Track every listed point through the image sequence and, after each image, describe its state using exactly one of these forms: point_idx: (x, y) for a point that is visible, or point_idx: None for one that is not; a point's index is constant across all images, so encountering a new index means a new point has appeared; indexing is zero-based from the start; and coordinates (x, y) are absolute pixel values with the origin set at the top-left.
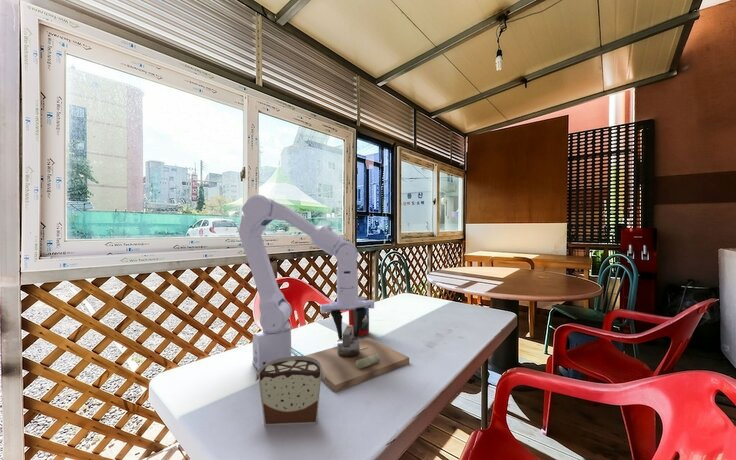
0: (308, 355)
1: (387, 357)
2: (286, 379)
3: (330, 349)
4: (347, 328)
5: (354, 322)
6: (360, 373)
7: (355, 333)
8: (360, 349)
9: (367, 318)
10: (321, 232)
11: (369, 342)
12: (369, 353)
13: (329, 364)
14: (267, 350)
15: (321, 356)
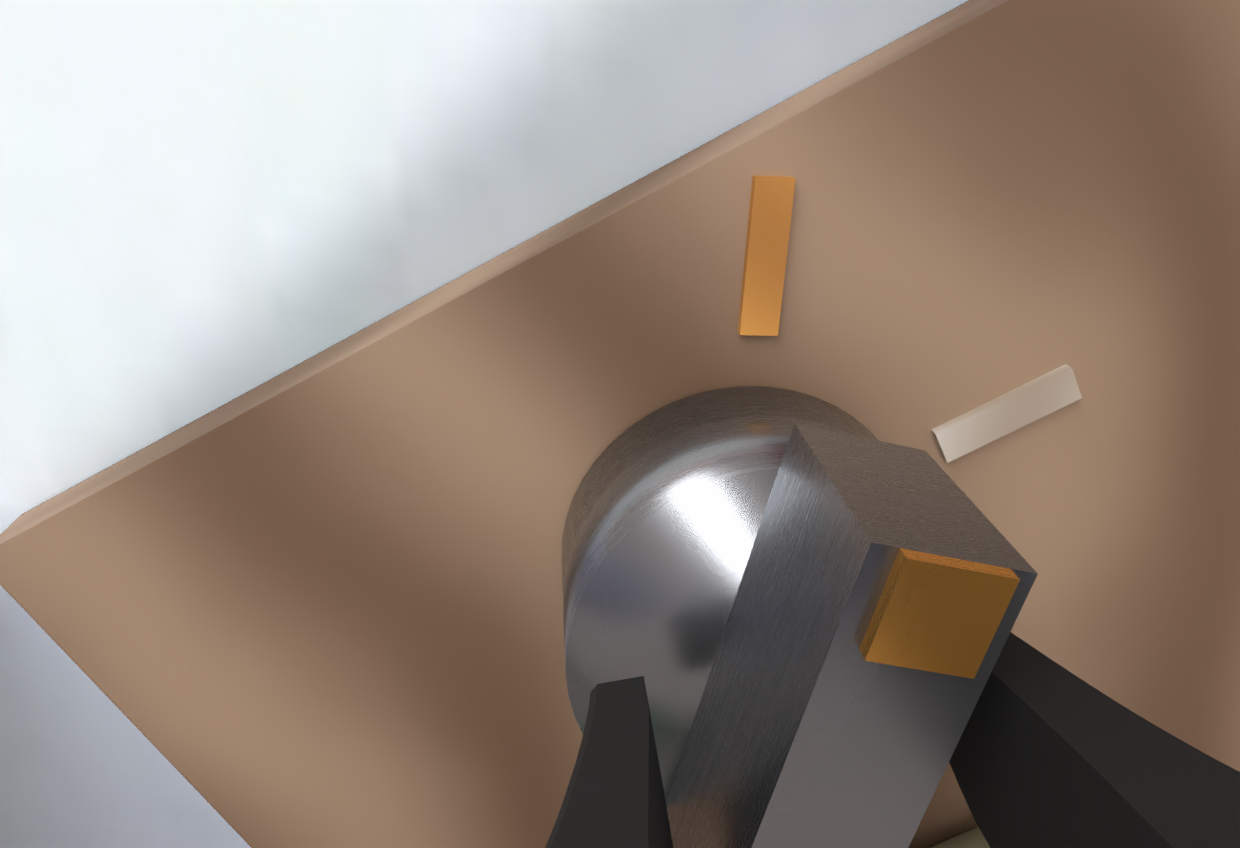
0: (88, 532)
1: (1207, 723)
2: None
3: (441, 356)
4: (842, 743)
5: (1100, 813)
6: None
7: (969, 768)
8: (942, 457)
9: None
10: None
11: (1191, 156)
12: (1031, 587)
13: (453, 812)
14: None
15: (314, 593)
